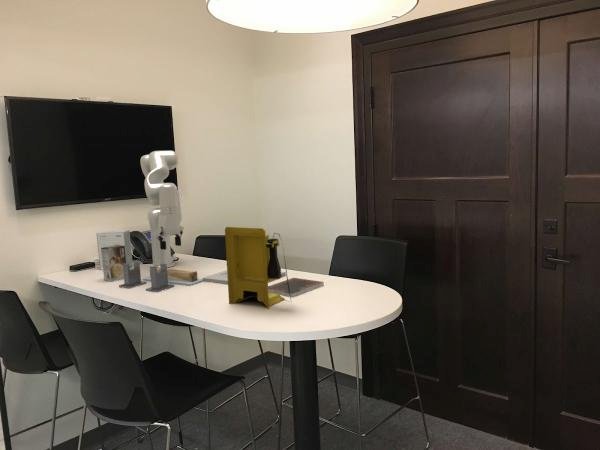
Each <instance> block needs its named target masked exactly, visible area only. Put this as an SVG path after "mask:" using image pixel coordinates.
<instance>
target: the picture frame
mask: <svg viewBox="0 0 600 450" xmlns="http://www.w3.org/2000/svg"><path fill="white" fill-rule="evenodd" d="M288 284H289V290H290V294H289V290H288ZM288 284H287V279H285V280H282V281H280V282H277V283H273V284H271V285H268V293H271V294H279V295H280V296H281V297H283V296H284V297H287V298H288V297H289V298H290V296H291V298H295V297H297V296H300V295H303V294H306V293H307V292H310V291H312V290H317V289H318V288H321V287H323V286H325V285H324V281H319V280H313V279H307V278H306V279H305V278H298V277H292V278H288Z"/></svg>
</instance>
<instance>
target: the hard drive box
mask: <svg viewBox="0 0 600 450" xmlns="http://www.w3.org/2000/svg"><path fill="white" fill-rule="evenodd" d="M96 239H97V240H96V241H97V242H96V243H97V251H98V261H99V269H100V268H103V262H102V252H101V248H103V247H109V246H114V245H122V246H125V255H126V264H129V268H132V267H134V265H133V255H132V243H131V232H130V230H105V231H104V230H103V231H100V232H96Z"/></svg>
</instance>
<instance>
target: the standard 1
mask: <svg viewBox="0 0 600 450" xmlns="http://www.w3.org/2000/svg"><path fill="white" fill-rule="evenodd" d="M132 263H133V267H129V264H123V273H124V279H123V282H124V283H122V284H119V285H118V288H122V287H124V289H134V288H136V286H137V287H140V286H142V285H147V284H146V283H148V281H145V280H142V277H141V275H142V274H141V265H140V261H139V260H132Z"/></svg>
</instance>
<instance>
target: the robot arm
mask: <svg viewBox="0 0 600 450" xmlns="http://www.w3.org/2000/svg"><path fill="white" fill-rule="evenodd" d="M178 157H179V156H178V155H177V153H176V151H175V150H154V151H151V152H150V153H149V154H145V155H142V156H141V158H140V166H141V170H142V174H143V175H144V177H145V179H144V190H145V194H146V195H145V196H146V197H147V198H148V201H149V204H150V205H152V206H155V208H151V209H149V210H148V212H147V220H148V224H149V230H150V240H151V241H150V242H151V252H152V263H151V264H150V266H149V268H150V267H151V266H155V267H157V268H160V264H167V269H169V268H171V267H174V266H175V262H174V261H177V260H178V256H172V253H171V240H170V237H171V236H175V237H174V245H175V246H177V247H178V246H179V247H181V246H182V235H183V233H184V232H183V231H184V229H185V228H184V227H185V226H184V227H183V225H180V224H181V223H182V219H183V217H182V216H183V215H182V206H181V197H180V192H179V189H178V187H177V186H176V184H175V183H173V182H164V180H166V179H167V178H168V177H169V175H170V170H174V169H175V168H177V166H178V164H179V158H178ZM157 206H158V207H157Z"/></svg>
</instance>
